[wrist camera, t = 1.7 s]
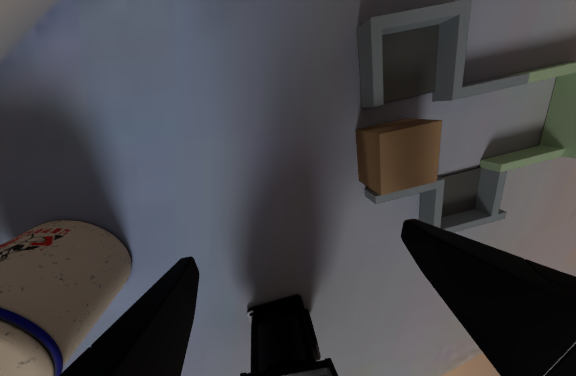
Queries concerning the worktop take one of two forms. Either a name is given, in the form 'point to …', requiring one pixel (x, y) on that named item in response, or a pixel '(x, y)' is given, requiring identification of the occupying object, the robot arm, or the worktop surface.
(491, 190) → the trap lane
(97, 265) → the teacup with lid
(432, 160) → the walnut block
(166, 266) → the worktop surface
